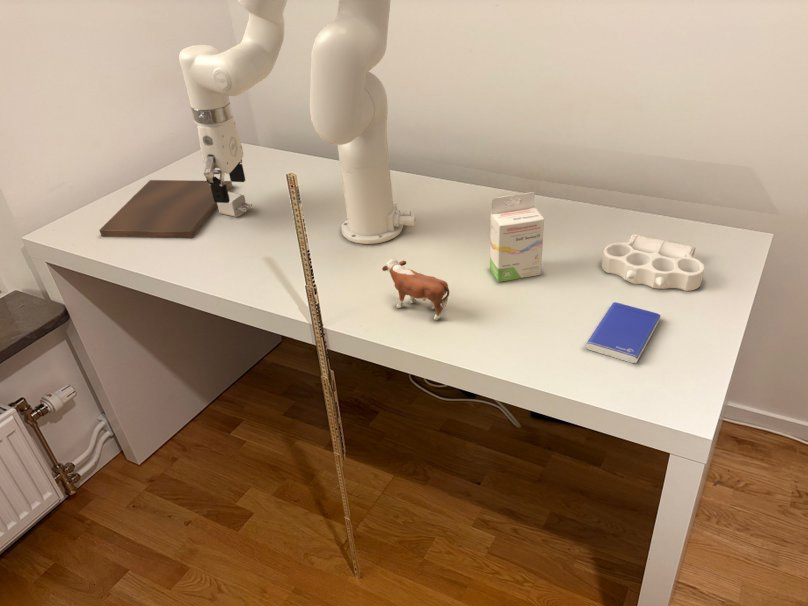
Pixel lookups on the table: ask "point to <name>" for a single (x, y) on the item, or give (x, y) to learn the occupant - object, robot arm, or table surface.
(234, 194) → the usb wall charger
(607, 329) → the hard drive
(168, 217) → the walnut board
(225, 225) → the table surface
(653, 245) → the white brass knuckles
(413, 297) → the bull figurine
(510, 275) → the ink box
